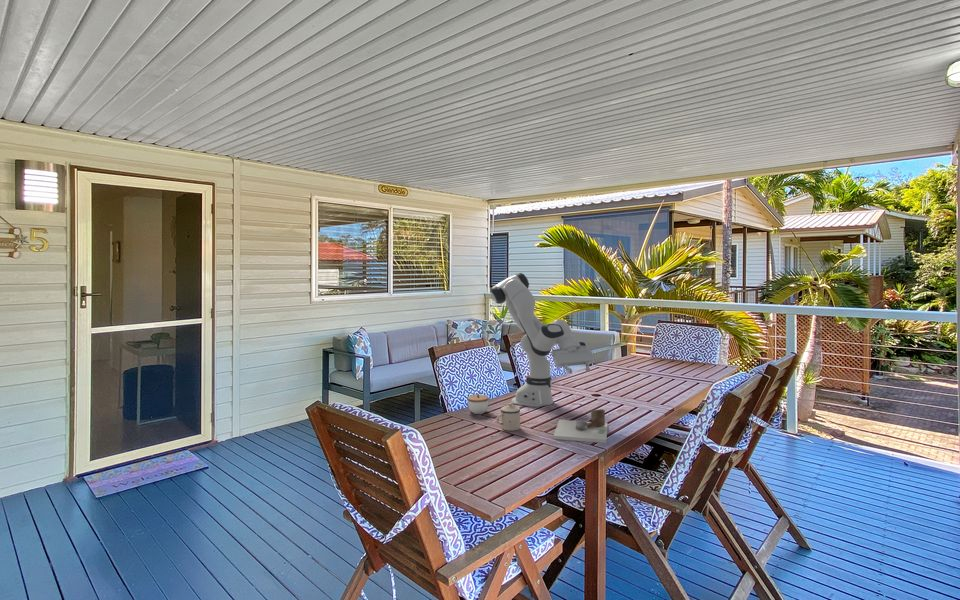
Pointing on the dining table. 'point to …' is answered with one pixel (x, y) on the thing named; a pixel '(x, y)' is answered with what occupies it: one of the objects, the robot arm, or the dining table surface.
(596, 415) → the tuning peg
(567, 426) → the plate
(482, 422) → the dining table surface
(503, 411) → the teacup with lid
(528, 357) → the robot arm
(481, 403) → the lidded jar
